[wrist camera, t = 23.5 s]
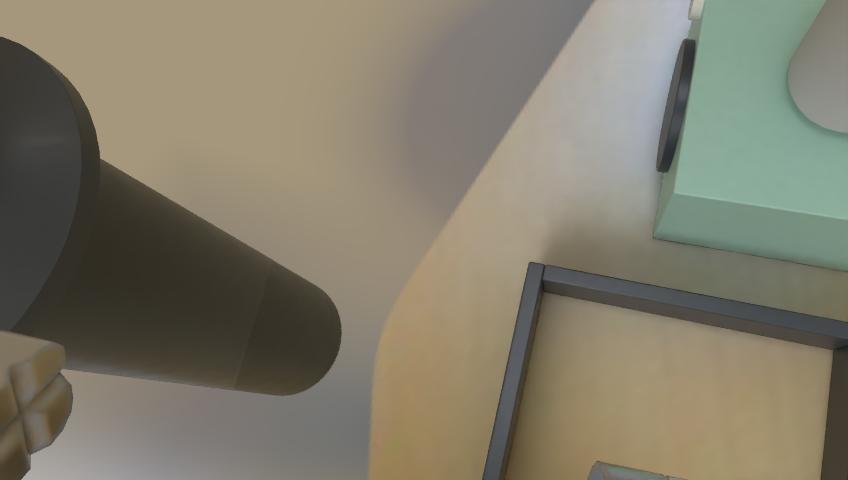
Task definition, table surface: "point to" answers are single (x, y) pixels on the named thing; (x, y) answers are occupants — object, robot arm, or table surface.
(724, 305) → the dark gray square frame
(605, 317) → the table surface
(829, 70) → the beverage can
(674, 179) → the light green boxy block
